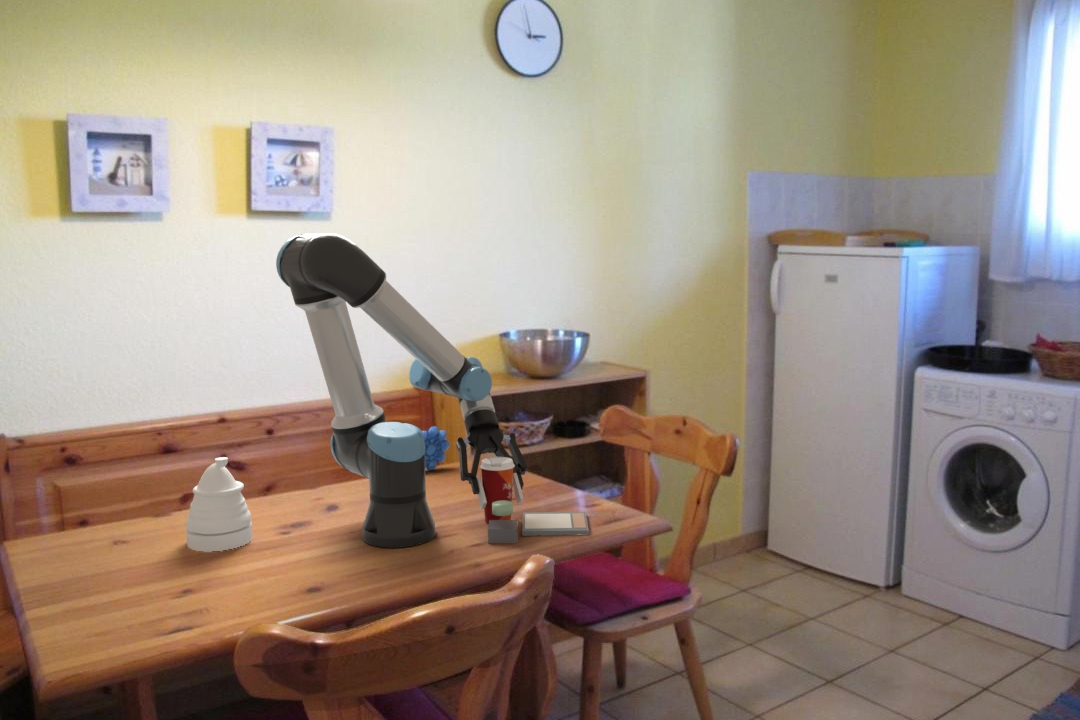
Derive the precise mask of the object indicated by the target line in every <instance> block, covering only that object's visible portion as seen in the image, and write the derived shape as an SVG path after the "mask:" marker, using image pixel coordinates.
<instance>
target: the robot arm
mask: <svg viewBox="0 0 1080 720" xmlns="http://www.w3.org/2000/svg"><path fill="white" fill-rule="evenodd" d="M275 265H276V266H275V267H276V272H277V274H278V277H279V279H280V280H281V281H282V283H283V284H285V285H286V286H287V287H288V288H290V292H291V296H292V299H293V301H294V304H295V306H296V307H298V308H300V309H302V310H303V311H304V312H305V317H306V319H307V323H308V326H309V330H310V333H311V337H312V339H313V342H314V343H313V344H314V345H315V346H314V347H315V349H316V353H317V354H316V355H317V356H318V360H319V364H320V366H321V370H322V374H323V377H324V380H325V383H326V387H327V391H328V394H329V397H330V400H331V404H332V407H333V411H334V414H335V415H334V417H333V418H332V420H331V422H330V426H331V430H332V435H331V437H330V442H329V443H330V451H331V455H332V456H333V459H334V460H335V461H336V462H337V463H338V464H339V465H340V466H341V467H343V469H345V470H346V471H348V472H351V473H352V474H356V475H358V476H360V477H364V478H365V479H367V480H368V481H369V482H368V484H369V487H368V488H369V504H368V508H367V510H366V511H367V512H366V513H365V514H366V515H365V518H364V522H363V525H362V540H363V541H364V543H366V544H368V545H370V546H375V547H378V548H379V547H380V548H390V549H391V548H392V549H393V548H408V547H413V546H417V545H421V544H424V543H427V542H429V541H431V540H432V539H434V538H435V537H436V524H435V520H434V518H433V515H432V512H431V509H430V507H429V503H428V501H427V492H426V487H427V486H426V468H425V450H426V448H425V442H424V435H423V433H422V431H423V430H421V429H420V428H419V427H418V426H416V425H413V424H411V423H407V422H404V423H402V422H401V421H387V419H386V416H385V412H384V409H383V408H382V407H381V406H379V405H377V404H375V403H374V399H373V395H372V392H371V387H370V384H369V381H368V377H367V374H366V370H365V367H364V363H363V359H362V357H361V352H360V349H359V344H358V342H357V337H356V334H355V330H354V326H353V323H352V319H351V315H350V313H349V309H348V305H349V306H350V307H352V308H354V309H356V308H358V309H359V308H360V309H361V310H362V311H363V312H364V313H365V314H366V315H368V316H369V317H370V318H371V319H372V320H373V321H374V322H375V323H376V324H377V325H379V326H380V327H381V328H382V329H383V330H384V331H385V332H386V333H387V334H389V335H390V336H391V337H392V339H394V340H395V341H396V342H397V343H398V345H400V346H401V347H402V348H404V349H405V351H407V352H408V353H409V354H410V355H411V356H412V357H413V358H414V360H413V361H412V363H411V365H410V369H409V372H408V373H409V374H408V376H409V382H410V384H411V385H412V386H413V387H414V388H416V389H420V390H423V391H429V392H433V393H437V394H442V395H444V396H451V397H454V398H457V399H458V400H457V401H458V403H459V407H460V410H461V414H462V418H463V422H464V426H465V429H466V430H465V431H466V434H467V437H465V438H463V437H461V436H460V437H458V438H457V441H456V444H455V446H456V449H457V451H458V457H459V475H460V480H461V481H462V482H465V481H467V482H468V484H469V485H470V487H471V492H472V493H473V495H477V497H478V502H479V506H480V509H481V510H484V509H485V506H486V504H487V501H486V497H485V493H484V489H483V485H482V476H477V474H478V470H479V467H480V460H481V455H484V454H494V455H495V457H507V458H511V459H512V460H513V464H514V465H515V467H514V468H513V486H512V491H513V492H514V495H515V496H514V497H515V499H516V501H515V502H516V504H517V506H519V505H522V503H523V501H524V494H523V491H522V490H523V488H524V485H525V484H524V480H523V476H524V475H525V474H526V472H527V470H528V465H527V462H526V460H525V458H524V456H523V454H522V451H521V450H520V448H519V446H518V444H517V439H516V433H514V432H511V433H510V434H504V433H503V432H502V431H501V428H500V424H499V421H498V420H499V419H498V416H497V413H496V409H495V406H494V402H493V398H492V396H491V393H490V392H491V390H492V389H493V388H492V387H493V386H492V385H493V379H492V375H491V373H490V372H489V371H488V370H487V369H486V368H483V364H482V362H481V361H480V360H479V359H478V358H476V357H474V356H468V357H465V356H464V355H463V354H462V352H460V351H459V350H458V349H457V348H456V347H455V346H454V345H453V344H452V343H451V342H450V341H449V340H447V338H446V337H444V336H443V334H442V333H441V332H440V331H439V330H438V329H436V327H435V326H434V325H432V324H431V323H430V322H429V321H428V320H427V319H426V318H425V317H424V316H423V315H422V314H421V313H420V312H419V311H418V310H417V309H416V308H415V306H413V305H412V304H411V303H410V302H409V301H408V300H407V299H406V298H405V297H404V296H403V295H401V294H400V292H399V291H398V290H397V289H395V288H394V287H393V286H392V285H391V284H390V283H389V281H388V280H387V273H386V271H384V270H383V269H382V268H381V266H379V265H378V264H377V263H376V262H375V261H374V260H373V259H372V258H371V257H370V256H369V255H368V254H367V253H366V252H365V251H363V249H361V248H360V247H359V246H358V245H357V244H355V243H354V242H353V241H352V240H350V239H349V238H346V237H345V236H343V235H340V234H337V233H331V232H330V233H328V232H327V233H313V232H308V233H307V232H306V233H301V234H298V235H295V236H292V237H290V238H288V240H286V241H285V242H284V243H283V244H282V245H281V247H280V248H279V251H278V252H277V256H276V261H275ZM347 304H348V305H347ZM502 441H504V442H505V445H506V446H507V447H508V450H509V452H510V454H511V455H510V454H509V452H508V451H507V450H506V449H505V446H504V445H503V443H502ZM468 445H469V446H471V447H472V448H473V450H474V454H473V461H472V464H471V465H472V466H471V470H470V472H469V468H468V454H467V453H468V451H467V447H468Z"/></svg>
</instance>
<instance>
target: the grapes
mask: <svg viewBox="0 0 1080 720" xmlns="http://www.w3.org/2000/svg"><path fill="white" fill-rule="evenodd" d="M421 431H422V433H423V435H424V442H425V448H426V450H425V469H426V470H427V471H434V470H435V469H436V467H437V465H438V464H437V463H443V462H444V461H445V460H446V455H447V454H446V453H445V452H446V451H447V450H449V448H450V442H449V440H448V439H447V437H448V435H447V431H446V430H444V429H441V430H439V429H438V427H437V426H434V425H433V426H431V427H430V428H428V431H427V430H421Z"/></svg>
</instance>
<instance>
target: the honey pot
mask: <svg viewBox="0 0 1080 720" xmlns="http://www.w3.org/2000/svg"><path fill="white" fill-rule="evenodd" d="M214 462H215V463H212V464H210V465H209V466H208V467H207V468H206V469H205V471H204V472H203V474H202V475H201V478H200V479H199V482H198V484H197V485H196V486H194V487H193V488H192V493H193V499H192V502H190V506H189V509H188V516H187V517H186V521H185V525H186V526H185V527H186V545H187V546H188V547H189V548H191V549H194V550H198V551H204V552H203V553H213V552H212V551H220V552H224V551H223V550H227V551H229V550H228V549H232V550H234V549H233V548H236V549H238V548H237V547H239V548H241V547H240V546H242V547H244V546H246V545H245V544H247V543H248V544H249V542H250V541H251V542H252V541H253V527H252V513H251V511H250V510H249V508H248V504H247V502H246V498H245V497H244V495H243V494H242V492H241V491H243V489H244V488H245V486H244V483H243V482H241V481H238V480H235V477H234V476H233V475H232V474H231V472H230V471H229V470H228V468H227V467H226V466H227V465H228V462H229V458H228V457H225V456H221V457H216V458H214ZM251 542H250V543H251ZM248 544H247V545H248ZM243 545H244V546H243ZM187 546H186V547H187ZM188 547H187V548H188ZM189 548H188V549H189ZM191 549H190V550H191ZM198 551H197V552H198Z"/></svg>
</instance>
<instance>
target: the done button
mask: <svg viewBox="0 0 1080 720" xmlns="http://www.w3.org/2000/svg"><path fill="white" fill-rule="evenodd" d="M492 514H493V515H496V516H508V515H511V516H512V515H513V514H514V502H513V501H512V502H511V501H506V500H501V501H495V502H493V503H492Z"/></svg>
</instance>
